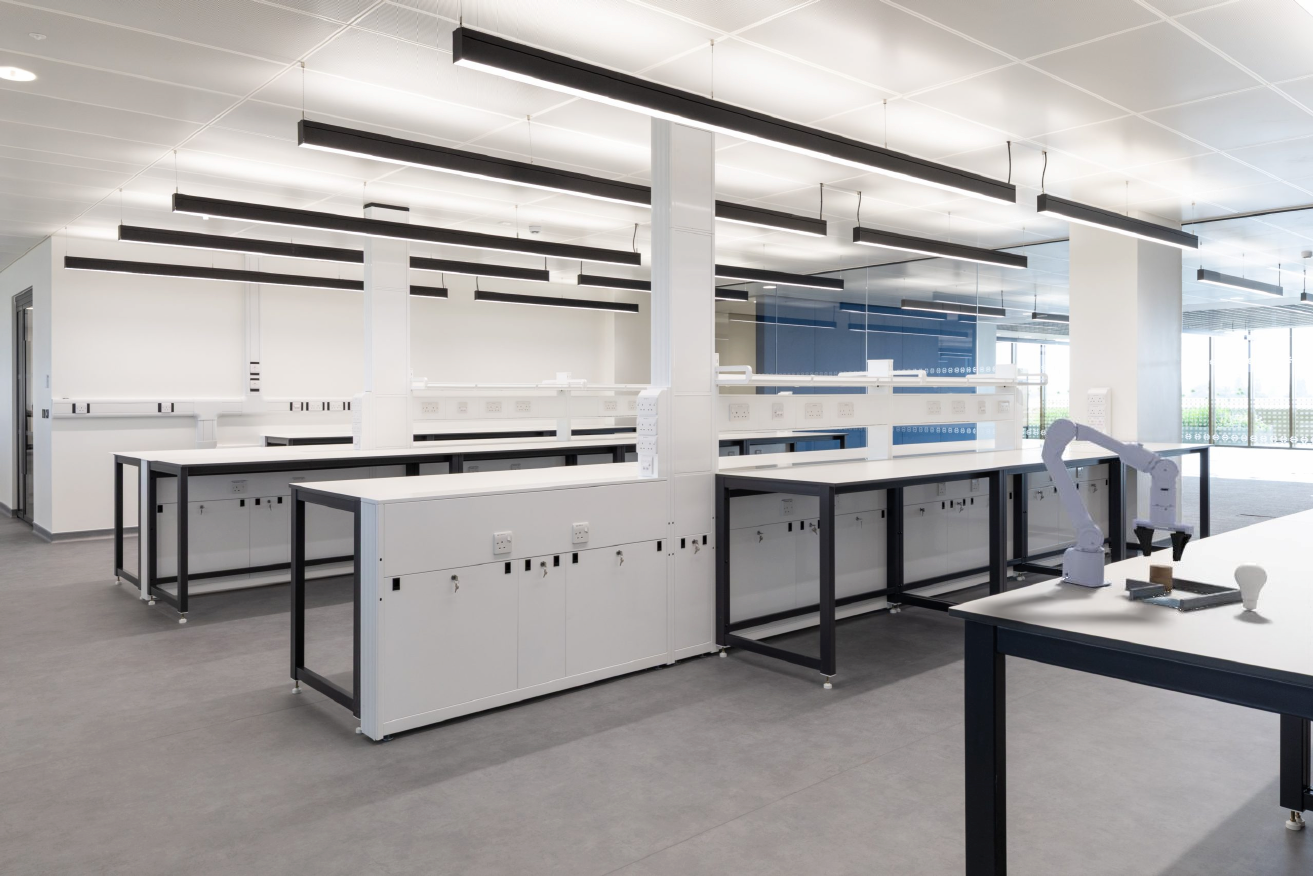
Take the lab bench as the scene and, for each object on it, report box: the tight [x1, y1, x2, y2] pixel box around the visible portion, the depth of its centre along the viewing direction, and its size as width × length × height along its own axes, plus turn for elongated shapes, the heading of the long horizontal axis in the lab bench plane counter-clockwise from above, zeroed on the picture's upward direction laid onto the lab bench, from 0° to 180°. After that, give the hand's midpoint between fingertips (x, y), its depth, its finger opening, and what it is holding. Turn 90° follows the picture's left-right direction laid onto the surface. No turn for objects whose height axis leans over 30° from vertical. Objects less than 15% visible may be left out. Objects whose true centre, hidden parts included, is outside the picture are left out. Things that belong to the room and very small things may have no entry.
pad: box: [1141, 596, 1180, 608], centre depth 201 cm, size 8×8×1 cm
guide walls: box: [1125, 576, 1243, 611], centre depth 208 cm, size 22×24×2 cm
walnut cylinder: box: [1148, 564, 1174, 592], centre depth 216 cm, size 5×5×6 cm
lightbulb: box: [1233, 562, 1268, 612], centre depth 194 cm, size 6×6×11 cm
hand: (1161, 558), depth 216 cm, fingers open, 7 cm apart
